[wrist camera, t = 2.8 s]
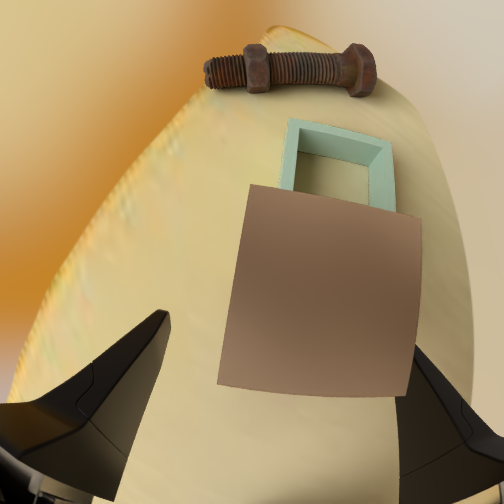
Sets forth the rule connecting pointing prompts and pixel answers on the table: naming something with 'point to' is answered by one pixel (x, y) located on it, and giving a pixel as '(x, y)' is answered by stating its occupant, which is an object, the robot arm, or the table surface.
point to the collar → (341, 156)
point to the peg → (322, 298)
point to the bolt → (294, 69)
